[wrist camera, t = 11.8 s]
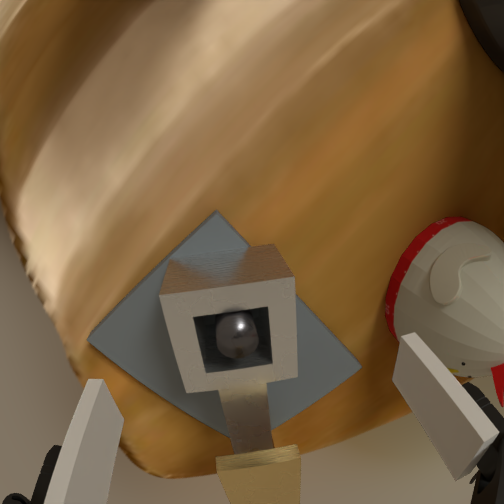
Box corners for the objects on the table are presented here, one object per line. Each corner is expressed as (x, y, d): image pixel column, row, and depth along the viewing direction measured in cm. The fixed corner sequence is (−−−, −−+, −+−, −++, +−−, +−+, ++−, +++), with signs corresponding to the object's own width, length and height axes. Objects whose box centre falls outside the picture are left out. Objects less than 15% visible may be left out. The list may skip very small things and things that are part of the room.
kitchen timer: (358, 293, 25) (467, 419, 11) (460, 185, 23) (599, 234, 9) (418, 366, 30) (492, 459, 16) (498, 279, 28) (589, 342, 14)
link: (170, 257, 21) (158, 295, 16) (273, 243, 21) (294, 276, 16) (207, 411, 26) (210, 459, 21) (284, 400, 27) (298, 446, 21)
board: (216, 209, 21) (216, 213, 20) (357, 359, 28) (362, 367, 27) (90, 332, 23) (86, 339, 22) (243, 437, 29) (244, 445, 28)
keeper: (273, 367, 25) (301, 458, 16) (278, 431, 28) (299, 508, 19) (210, 376, 25) (216, 471, 16) (227, 439, 28) (237, 518, 19)
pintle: (230, 268, 22) (239, 316, 16) (251, 289, 22) (267, 341, 16) (207, 288, 22) (207, 342, 16) (228, 308, 23) (236, 364, 17)
